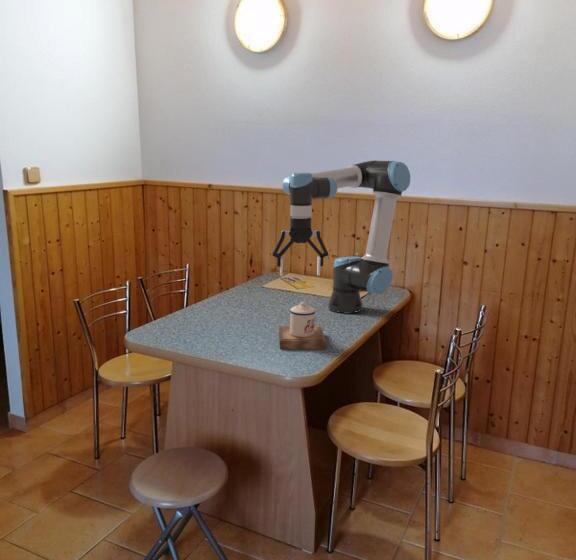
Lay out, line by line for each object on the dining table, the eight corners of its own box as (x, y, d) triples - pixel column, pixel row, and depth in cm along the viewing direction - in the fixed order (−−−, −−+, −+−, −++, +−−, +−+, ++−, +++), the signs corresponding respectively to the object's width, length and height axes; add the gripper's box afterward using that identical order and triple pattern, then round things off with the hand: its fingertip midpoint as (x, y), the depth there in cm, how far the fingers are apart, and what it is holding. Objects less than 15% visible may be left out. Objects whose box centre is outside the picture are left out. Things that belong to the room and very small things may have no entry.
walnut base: (321, 334, 207) (321, 326, 206) (325, 349, 191) (326, 340, 191) (278, 333, 206) (279, 325, 205) (279, 348, 191) (280, 339, 190)
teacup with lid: (307, 339, 191) (309, 307, 188) (284, 335, 195) (285, 303, 192) (322, 330, 201) (323, 299, 199) (299, 326, 205) (300, 296, 203)
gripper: (333, 215, 200) (332, 272, 205) (265, 215, 198) (265, 273, 203) (337, 218, 192) (335, 277, 198) (266, 218, 191) (266, 277, 196)
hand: (300, 275), depth 200 cm, fingers open, 13 cm apart
